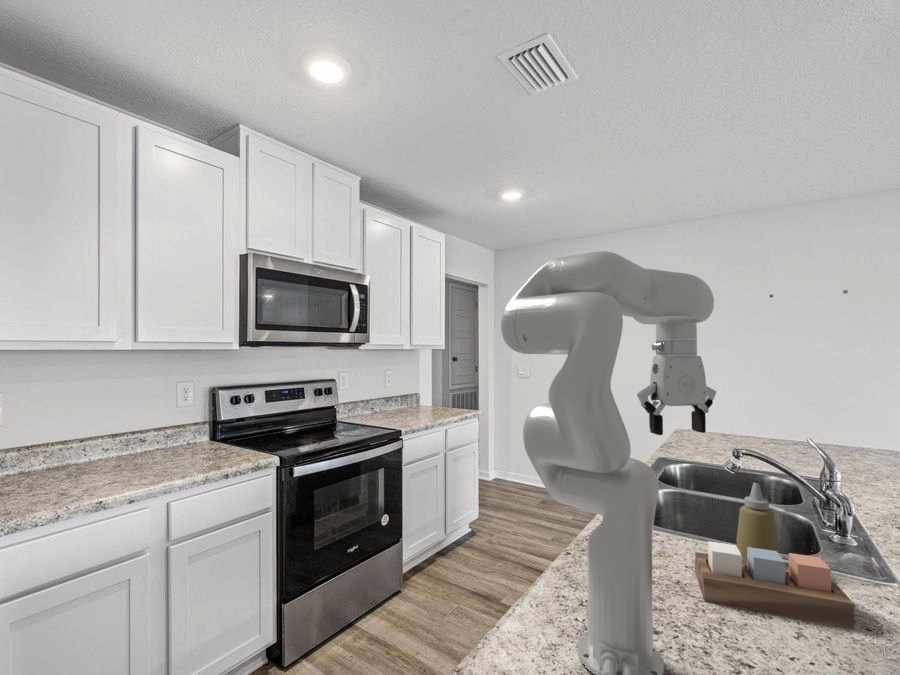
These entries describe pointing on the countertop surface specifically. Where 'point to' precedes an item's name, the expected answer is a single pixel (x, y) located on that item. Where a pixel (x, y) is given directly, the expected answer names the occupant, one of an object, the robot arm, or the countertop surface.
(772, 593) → the wooden compartment tray
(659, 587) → the countertop surface
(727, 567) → the key cream
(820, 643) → the countertop surface
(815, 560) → the peach cube
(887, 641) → the countertop surface
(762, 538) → the squeeze bottle
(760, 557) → the key slate
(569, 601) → the countertop surface
